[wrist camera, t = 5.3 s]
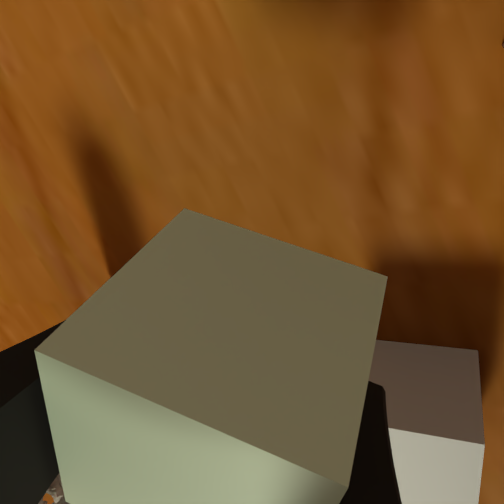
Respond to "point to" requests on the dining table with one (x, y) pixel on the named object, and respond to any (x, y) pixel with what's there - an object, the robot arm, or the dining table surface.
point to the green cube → (213, 373)
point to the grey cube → (432, 420)
